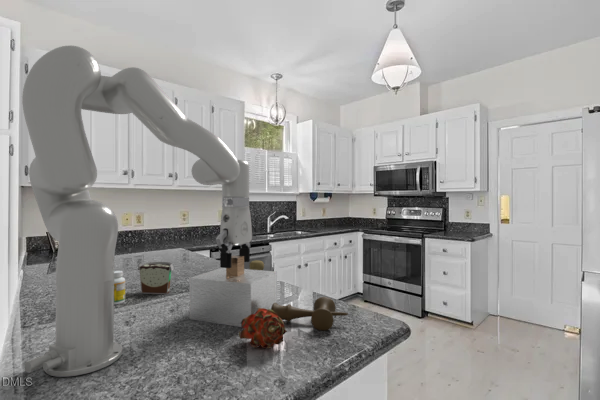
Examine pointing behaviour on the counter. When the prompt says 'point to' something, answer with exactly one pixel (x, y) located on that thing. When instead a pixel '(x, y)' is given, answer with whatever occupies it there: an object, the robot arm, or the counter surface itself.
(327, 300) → the kendama
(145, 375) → the counter surface
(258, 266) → the olive green tapered piece
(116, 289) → the supplement bottle
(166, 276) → the food container
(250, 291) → the box with wooden handle
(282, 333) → the dragon fruit
